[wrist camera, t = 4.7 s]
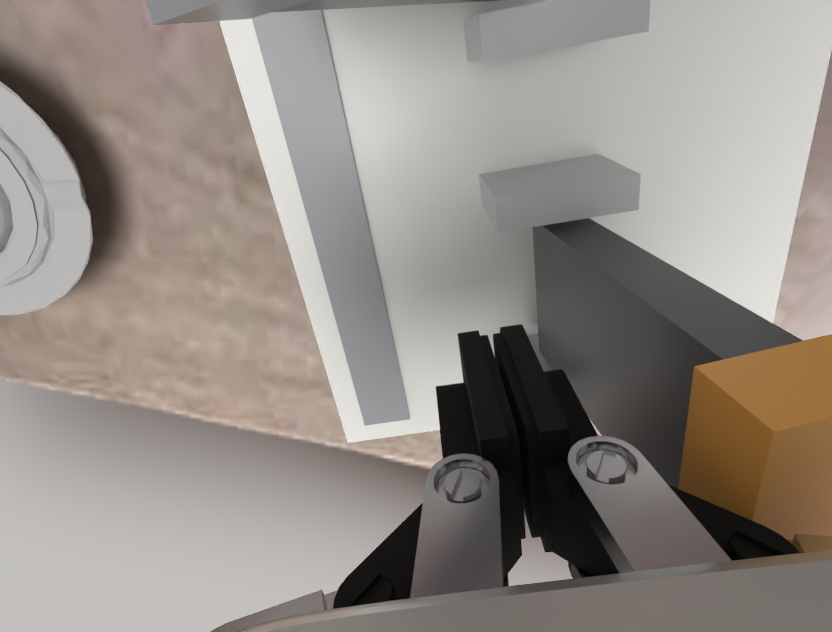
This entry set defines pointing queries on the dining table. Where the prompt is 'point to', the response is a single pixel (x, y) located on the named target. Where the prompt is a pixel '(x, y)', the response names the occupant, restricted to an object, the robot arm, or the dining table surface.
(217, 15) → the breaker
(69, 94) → the dining table surface
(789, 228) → the box
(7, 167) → the gray round rimmed fixture
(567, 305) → the lever
